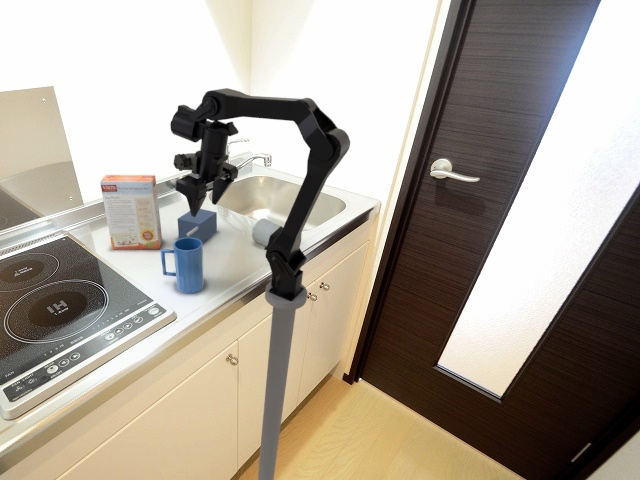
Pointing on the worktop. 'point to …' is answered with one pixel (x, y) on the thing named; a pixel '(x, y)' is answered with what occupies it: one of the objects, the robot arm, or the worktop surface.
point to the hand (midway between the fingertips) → (204, 210)
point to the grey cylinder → (263, 231)
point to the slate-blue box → (198, 225)
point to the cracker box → (132, 211)
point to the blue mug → (186, 264)
